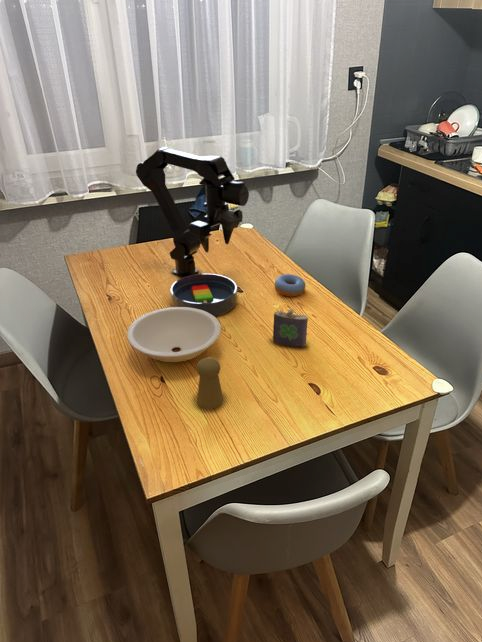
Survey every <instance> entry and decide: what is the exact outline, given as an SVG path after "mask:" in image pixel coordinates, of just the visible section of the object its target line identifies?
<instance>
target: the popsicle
mask: <svg viewBox="0 0 482 642" xmlns="http://www.w3.org/2000/svg"><path fill="white" fill-rule="evenodd" d="M191 291H192V294H193V297H194V299H195V302H196V303H207V302H213V301H214V299H213V296H212V294H211V292H210V290H209V287H208V286H207V285H197V286H192V288H191Z"/></svg>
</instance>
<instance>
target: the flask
mask: <svg viewBox="0 0 482 642" xmlns="http://www.w3.org/2000/svg"><path fill="white" fill-rule="evenodd" d="M294 311H295V309H294V308H291V309H288V310H287V312H285V311H283V310H278V311H275V312H274V314H273V326H272V327H273V330H272V342H273V343H274V344H276V345H280V346H283V347H291V348H293V347H294V348H299V349H300V348H305V347H306V345H307V337H308V336H307V335H308V322H309V318H308V316H307V315H304V314H294Z"/></svg>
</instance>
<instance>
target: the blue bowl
mask: <svg viewBox="0 0 482 642" xmlns="http://www.w3.org/2000/svg"><path fill="white" fill-rule="evenodd" d="M197 285H207V286H208V287H209V290H210V292H211V294H212V296H213V299H214V301H213V302H207V303H196V302H195V299H194V297H193V294H192V291H191V288H192V286H197ZM237 285H238V284H237V283H236V282H235V280H233V279H231V278H230V277H228V276H225V275H221V274H218V273H217V274H216V273H195V274H192V275H189V276H186V277H180V278H179V279H177V280H176V281H174V282H173V283H172V285H171V286H170V291H169V293H170V301H171V305H172V306H171V307H189V308H195V309H199V310H203V311H205V312H208V313H210V314H211V315H213V316H214V317H215V318H216V317H218V316H222V315H224V314H226V313H228V312H230V311H231V310H233V309H234V308H235V306H236V305H237V303H238V286H237Z"/></svg>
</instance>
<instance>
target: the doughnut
mask: <svg viewBox="0 0 482 642" xmlns="http://www.w3.org/2000/svg"><path fill="white" fill-rule="evenodd" d="M274 289H275V290H276V292H278V293H279V294H280V295H283V296H286V297H298V296H300V295H302V294H303V293H304V292H305V289H306V282H305V281H304V279H303V278H302V277H300V276H298V275H297V274H292V273H285V274H280V275H279V276H277V278H276V279H275V281H274Z"/></svg>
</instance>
